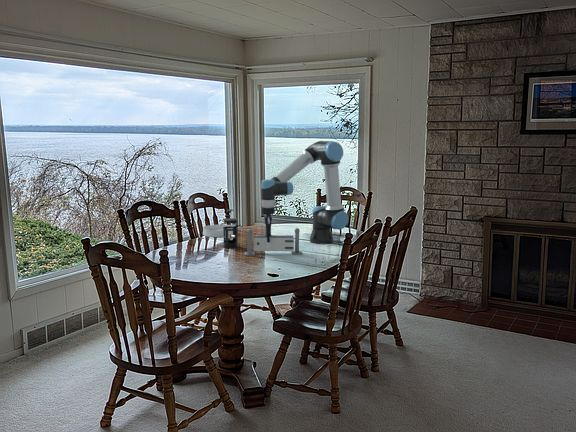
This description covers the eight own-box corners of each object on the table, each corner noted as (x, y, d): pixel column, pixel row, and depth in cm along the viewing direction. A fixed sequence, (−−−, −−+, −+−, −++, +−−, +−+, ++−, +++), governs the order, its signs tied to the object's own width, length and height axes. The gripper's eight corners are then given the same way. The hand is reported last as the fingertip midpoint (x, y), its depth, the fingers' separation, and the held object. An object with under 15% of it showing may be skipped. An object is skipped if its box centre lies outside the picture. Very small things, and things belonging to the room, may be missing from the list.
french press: (233, 249, 321) (232, 211, 318) (219, 247, 325) (218, 210, 321) (242, 245, 332) (242, 208, 328) (229, 243, 336) (228, 207, 332)
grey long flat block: (293, 250, 312) (293, 235, 310) (293, 251, 309) (293, 236, 307) (254, 250, 312) (253, 235, 310) (253, 251, 309) (253, 236, 307)
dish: (241, 233, 371) (241, 226, 370) (222, 239, 352) (222, 231, 351) (216, 230, 382) (216, 223, 381) (196, 235, 363) (196, 228, 362)
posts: (301, 252, 314) (301, 227, 312) (302, 254, 308) (302, 229, 306) (244, 253, 311) (244, 227, 308) (244, 255, 305) (244, 229, 302)
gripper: (260, 205, 308) (261, 245, 312) (262, 208, 296) (262, 250, 299) (273, 205, 309) (273, 245, 313) (275, 208, 296) (275, 250, 300)
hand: (268, 247), depth 306 cm, fingers closed
